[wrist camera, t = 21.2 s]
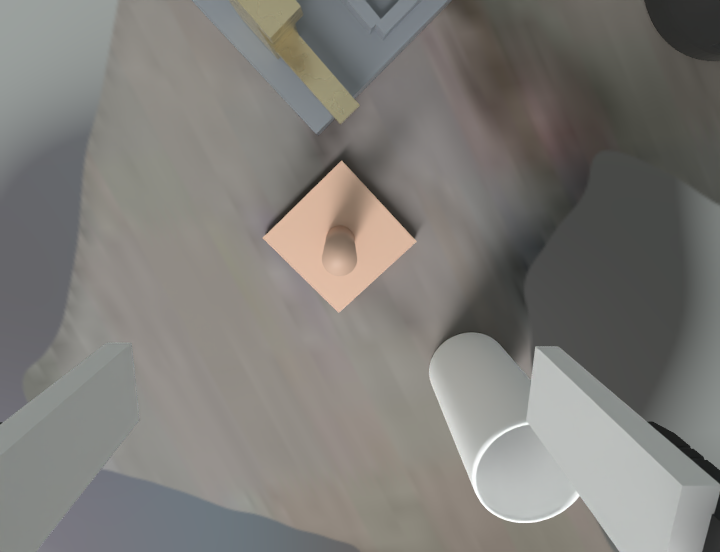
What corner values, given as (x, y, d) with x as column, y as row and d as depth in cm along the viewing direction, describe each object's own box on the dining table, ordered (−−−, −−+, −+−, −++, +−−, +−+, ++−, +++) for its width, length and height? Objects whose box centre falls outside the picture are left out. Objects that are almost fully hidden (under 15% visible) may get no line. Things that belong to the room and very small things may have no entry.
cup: (505, 326, 45) (590, 411, 30) (510, 398, 47) (592, 514, 32) (424, 338, 45) (468, 430, 30) (433, 410, 47) (477, 531, 32)
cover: (341, 160, 41) (341, 160, 31) (414, 238, 43) (434, 260, 33) (265, 235, 42) (242, 257, 33) (339, 307, 45) (337, 348, 35)
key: (360, 107, 37) (367, 84, 26) (338, 128, 37) (337, 114, 26) (248, -22, 34) (206, -106, 23) (226, 1, 34) (175, -70, 24)
